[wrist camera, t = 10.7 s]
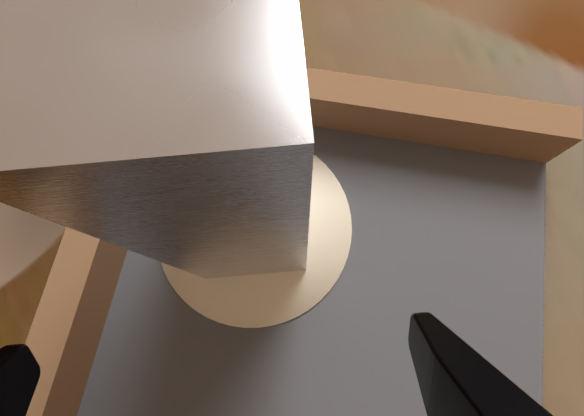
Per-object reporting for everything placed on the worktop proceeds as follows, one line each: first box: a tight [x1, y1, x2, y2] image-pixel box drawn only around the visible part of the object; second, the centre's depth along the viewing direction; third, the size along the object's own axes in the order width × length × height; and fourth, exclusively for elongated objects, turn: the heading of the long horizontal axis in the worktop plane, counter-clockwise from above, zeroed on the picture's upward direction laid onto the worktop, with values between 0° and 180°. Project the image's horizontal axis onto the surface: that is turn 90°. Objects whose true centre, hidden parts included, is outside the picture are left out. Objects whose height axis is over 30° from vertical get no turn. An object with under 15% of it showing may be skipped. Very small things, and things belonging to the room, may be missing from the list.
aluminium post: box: [0, 0, 314, 279], centre depth 11 cm, size 4×4×13 cm
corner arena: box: [25, 67, 583, 416], centre depth 16 cm, size 20×20×3 cm
